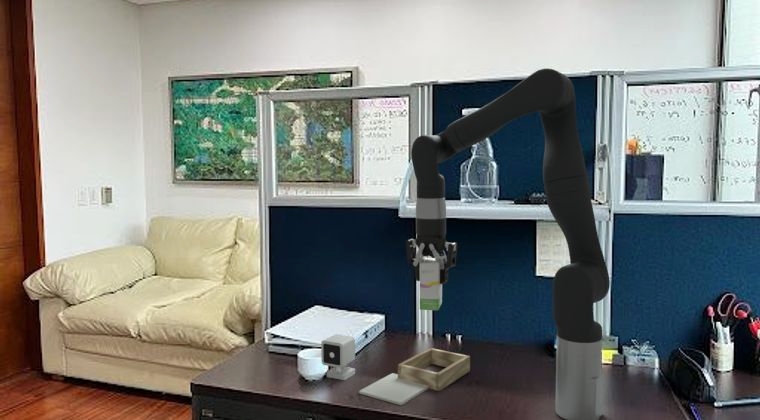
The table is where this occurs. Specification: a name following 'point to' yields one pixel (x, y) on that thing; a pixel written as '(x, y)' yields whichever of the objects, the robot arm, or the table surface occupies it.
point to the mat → (394, 389)
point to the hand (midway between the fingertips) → (431, 281)
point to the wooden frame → (436, 381)
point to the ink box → (430, 284)
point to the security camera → (338, 355)
